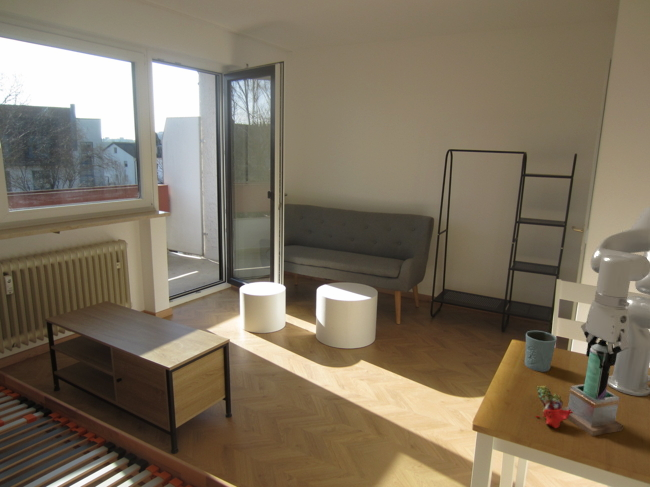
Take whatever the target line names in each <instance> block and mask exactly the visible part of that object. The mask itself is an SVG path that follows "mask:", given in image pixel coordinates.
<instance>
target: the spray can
mask: <svg viewBox="0 0 650 487" xmlns="http://www.w3.org/2000/svg"><path fill="white" fill-rule="evenodd" d="M607 352H609V351H608V343H607V342H606V341H604V340H602V339H600V340H599V339H598V341H597V344H595V345H592V346H591V348H590V354H589V357H588V361H587V368H586V373H585V380H584V383H583V384H584V390H583V392H585V393H586V394H588V395H589V396H591V397H593V398H594V399H600V398H605V394H606V390H607V387H608V384H607V383H608V377H609V376H610V372H611V366H605V365H604V362H605V357H606V353H607Z"/></svg>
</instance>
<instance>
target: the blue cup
mask: <svg viewBox="0 0 650 487" xmlns="http://www.w3.org/2000/svg"><path fill="white" fill-rule="evenodd" d="M557 340H558V339H557V337H556V336H555V335H554V334H552V333H550V332H546V331H543V330H529V331H527V332H526V333H525V350H524V351H525V353H524V355H525V356H524V365H525V367H527V368H528V369H530V370H532V371H537V372H548V371H550V370H551V365H552V360H553V356H554V352H555V347H556V343H557Z"/></svg>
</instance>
